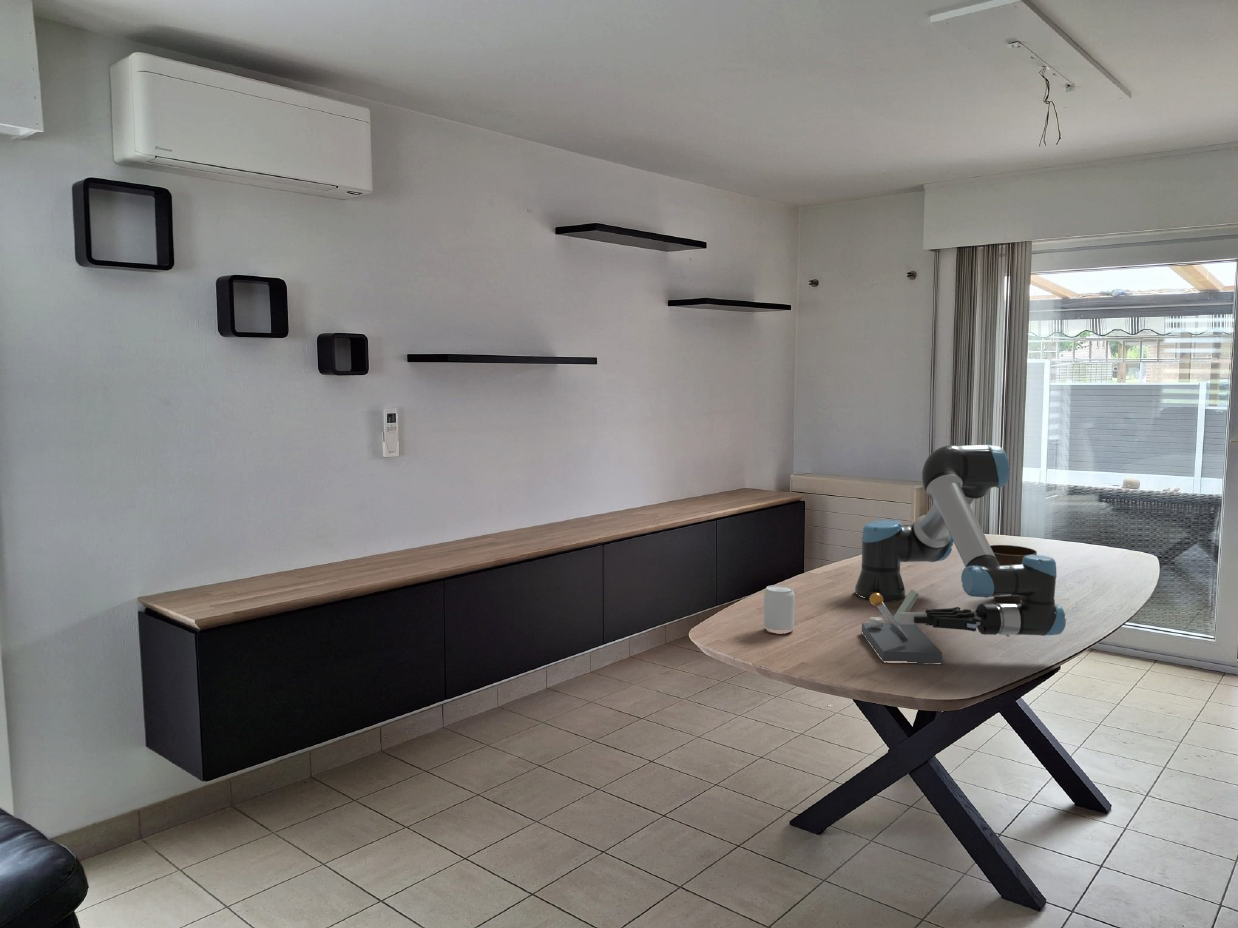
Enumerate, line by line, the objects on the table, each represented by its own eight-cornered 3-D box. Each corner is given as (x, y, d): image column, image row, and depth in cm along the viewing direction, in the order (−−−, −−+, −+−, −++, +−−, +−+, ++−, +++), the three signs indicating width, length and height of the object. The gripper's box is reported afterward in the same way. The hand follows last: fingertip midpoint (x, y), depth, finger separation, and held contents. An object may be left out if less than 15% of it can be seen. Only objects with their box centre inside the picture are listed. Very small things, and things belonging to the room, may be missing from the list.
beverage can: (789, 626, 243) (790, 584, 241) (796, 635, 235) (797, 591, 233) (761, 626, 242) (761, 584, 241) (766, 635, 234) (767, 592, 233)
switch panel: (861, 633, 237) (861, 622, 236) (914, 634, 236) (914, 623, 235) (883, 663, 213) (883, 651, 212) (941, 664, 212) (942, 652, 212)
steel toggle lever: (897, 641, 219) (865, 596, 218) (908, 634, 218) (876, 588, 217) (901, 645, 215) (868, 599, 215) (912, 638, 215) (879, 592, 214)
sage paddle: (891, 620, 233) (911, 588, 232) (894, 622, 233) (914, 590, 232) (895, 625, 228) (916, 592, 227) (898, 627, 228) (919, 594, 227)
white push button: (867, 623, 233) (867, 616, 233) (880, 623, 233) (881, 616, 232) (870, 627, 229) (870, 620, 229) (884, 627, 229) (884, 620, 229)
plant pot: (1040, 608, 261) (1042, 555, 259) (986, 605, 264) (989, 553, 262) (1027, 595, 275) (1029, 545, 274) (977, 593, 278) (979, 543, 277)
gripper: (1006, 642, 209) (906, 640, 210) (986, 626, 222) (891, 625, 223) (1007, 611, 208) (907, 610, 209) (987, 597, 221) (892, 596, 222)
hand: (899, 618), depth 216 cm, fingers closed
